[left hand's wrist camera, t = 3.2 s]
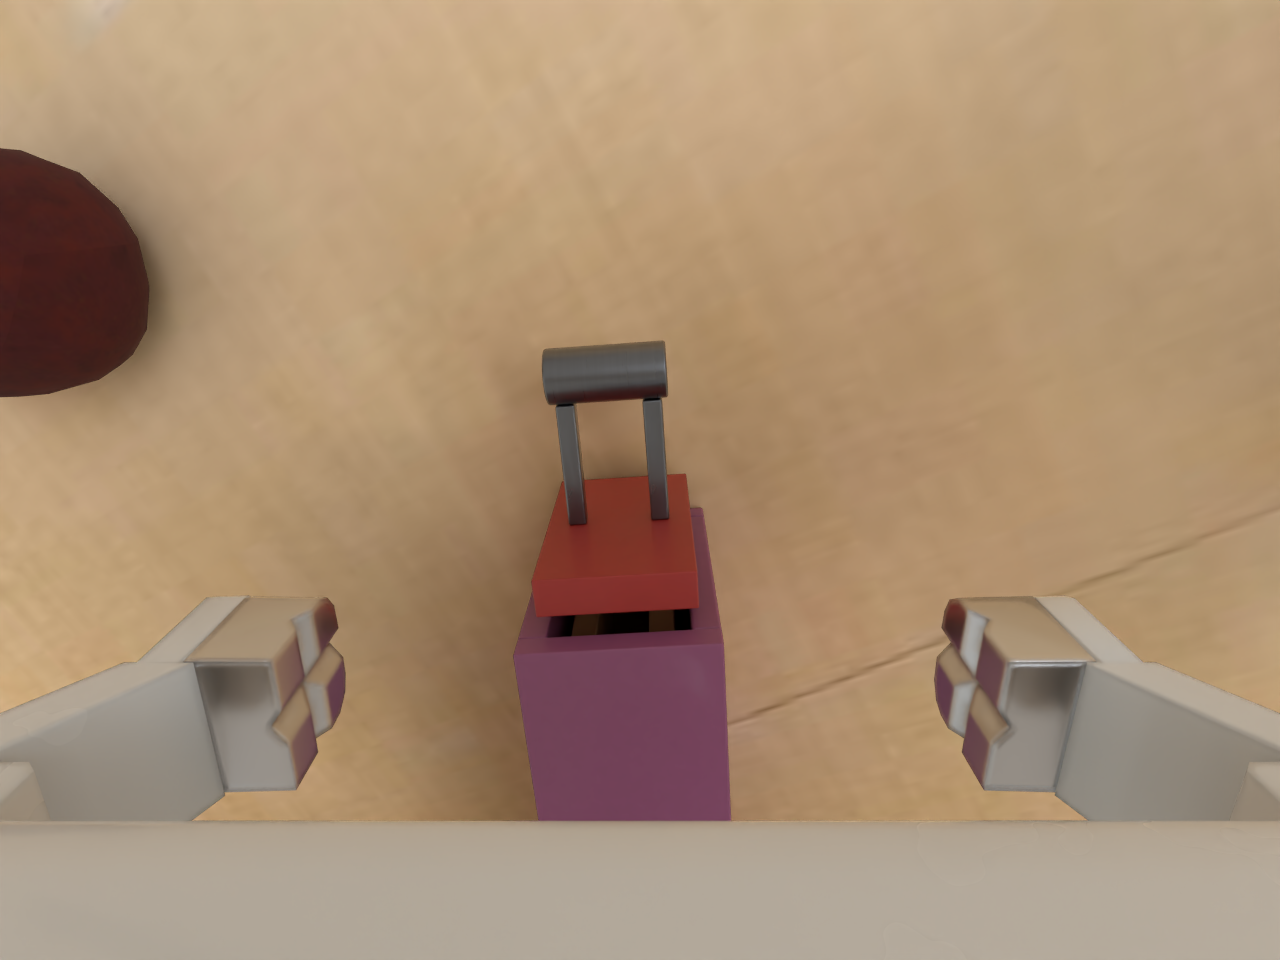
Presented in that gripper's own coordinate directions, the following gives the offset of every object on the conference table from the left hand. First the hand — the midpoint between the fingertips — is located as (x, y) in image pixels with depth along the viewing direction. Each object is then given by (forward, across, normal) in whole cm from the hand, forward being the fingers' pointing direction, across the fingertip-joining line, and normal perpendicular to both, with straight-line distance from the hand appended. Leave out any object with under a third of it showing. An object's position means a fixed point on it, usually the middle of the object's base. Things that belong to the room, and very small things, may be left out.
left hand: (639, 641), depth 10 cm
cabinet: (+19, 0, +17) cm, 25 cm away
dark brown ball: (+20, +20, -3) cm, 28 cm away
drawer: (+18, 0, +11) cm, 22 cm away
